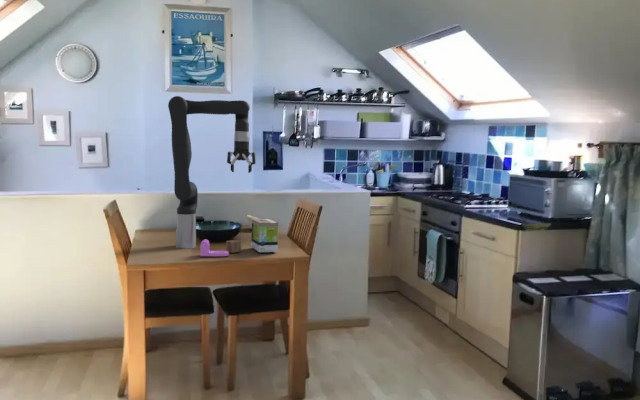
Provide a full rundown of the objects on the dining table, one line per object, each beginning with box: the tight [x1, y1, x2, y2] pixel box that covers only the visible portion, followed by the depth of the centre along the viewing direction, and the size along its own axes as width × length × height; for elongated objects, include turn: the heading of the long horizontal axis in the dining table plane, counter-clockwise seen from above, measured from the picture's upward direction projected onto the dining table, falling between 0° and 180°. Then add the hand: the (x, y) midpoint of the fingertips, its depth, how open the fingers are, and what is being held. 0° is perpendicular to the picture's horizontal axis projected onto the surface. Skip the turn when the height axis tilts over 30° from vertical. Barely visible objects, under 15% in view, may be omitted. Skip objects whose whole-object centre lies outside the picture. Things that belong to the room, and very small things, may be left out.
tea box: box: [250, 218, 279, 253], centre depth 269 cm, size 15×10×15 cm
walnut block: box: [225, 239, 242, 254], centre depth 264 cm, size 5×5×5 cm
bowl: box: [246, 214, 260, 230], centre depth 326 cm, size 15×14×10 cm
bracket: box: [199, 239, 230, 257], centre depth 255 cm, size 13×6×7 cm, turn 98°
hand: (241, 172), depth 277 cm, fingers open, 8 cm apart
